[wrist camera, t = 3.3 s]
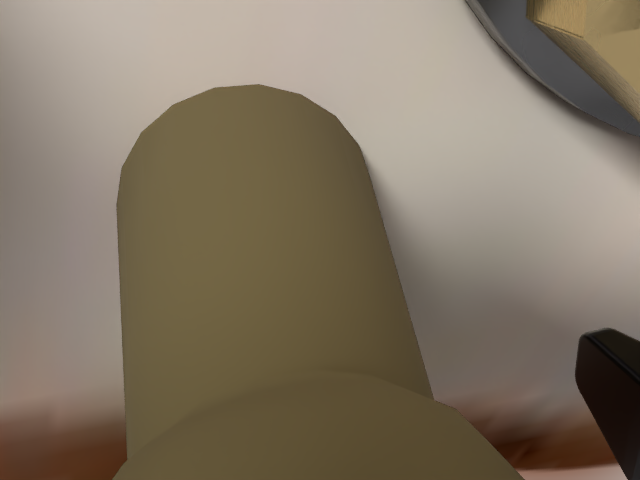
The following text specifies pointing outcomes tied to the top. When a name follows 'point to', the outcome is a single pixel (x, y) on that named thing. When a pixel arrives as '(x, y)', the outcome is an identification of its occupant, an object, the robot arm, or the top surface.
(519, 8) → the carrier plate
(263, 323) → the olive pestle
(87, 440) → the top surface
